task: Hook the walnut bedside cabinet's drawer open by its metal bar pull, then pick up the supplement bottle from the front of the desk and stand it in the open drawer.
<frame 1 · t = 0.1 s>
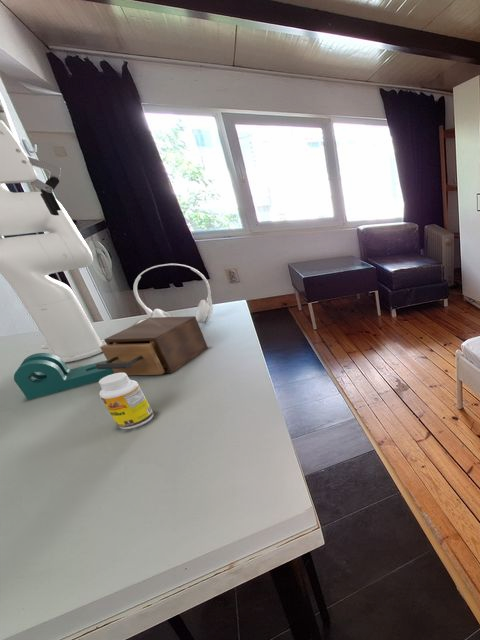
hand: (19, 218, 68), 37 cm above the table, tool pointing down, fingers open, 9 cm apart
supplement bottle: (137, 422, 72), on the table
cabinet: (168, 360, 96), on the table
bracket: (84, 380, 88), on the table
drawer: (144, 353, 89), point 5 cm above the table, slide at 1.0 cm
coaster: (150, 322, 122), on the table
headphones: (189, 327, 117), on the table
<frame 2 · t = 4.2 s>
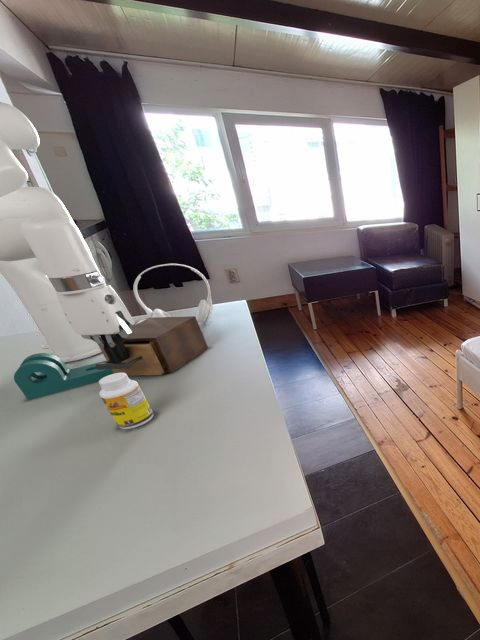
hand: (121, 360, 83), 6 cm above the table, tool pointing down, fingers closed
drawer: (143, 353, 89), point 5 cm above the table, slide at 1.2 cm, touching gripper
everything else where it was.
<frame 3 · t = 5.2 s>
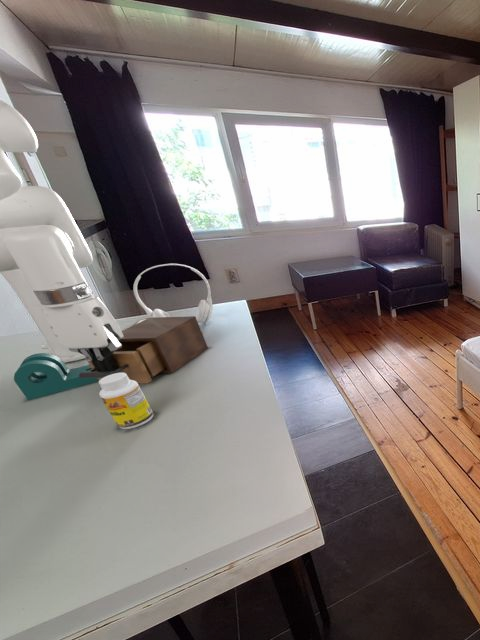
hand: (110, 373, 81), 5 cm above the table, tool pointing down, fingers closed
drawer: (131, 360, 86), point 5 cm above the table, slide at 4.9 cm, touching gripper
everything else where it was.
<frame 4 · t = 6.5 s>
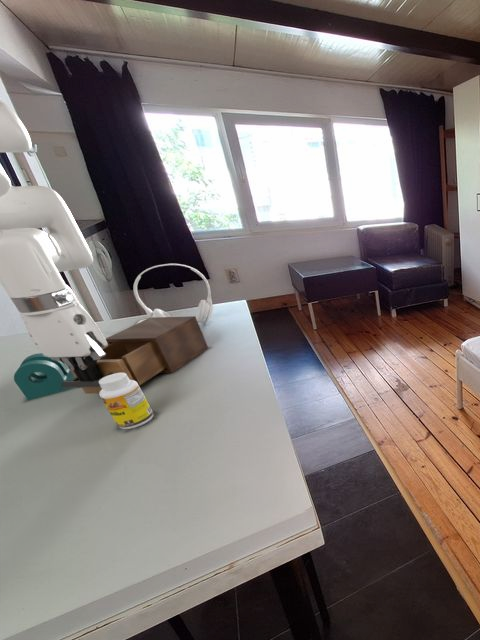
hand: (94, 382, 77), 5 cm above the table, tool pointing down, fingers closed
drawer: (116, 369, 82), point 5 cm above the table, slide at 8.7 cm
everything else where it was.
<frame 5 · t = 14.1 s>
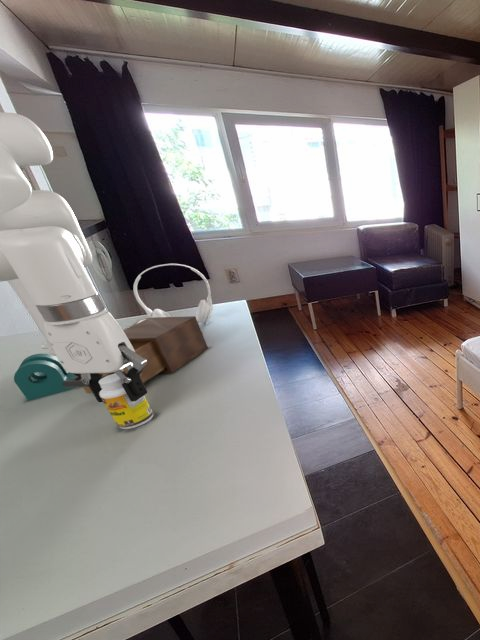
hand: (123, 396, 69), 6 cm above the table, tool pointing down, fingers closed on supplement bottle, 5 cm apart
supplement bottle: (137, 422, 72), on the table, touching gripper
everything else where it was.
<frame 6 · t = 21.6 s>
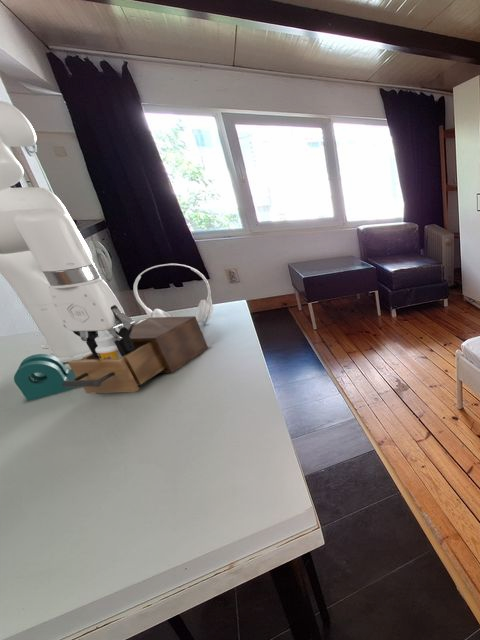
hand: (115, 353, 82), 8 cm above the table, tool pointing down, fingers closed on supplement bottle, 5 cm apart
supplement bottle: (128, 376, 85), point 2 cm above the table, touching gripper
drawer: (117, 368, 82), point 5 cm above the table, slide at 8.5 cm, touching gripper
everything else where it was.
when the fingers open (9 cm above the table, at t = 23.6 s): supplement bottle stays where it is, resting on drawer.
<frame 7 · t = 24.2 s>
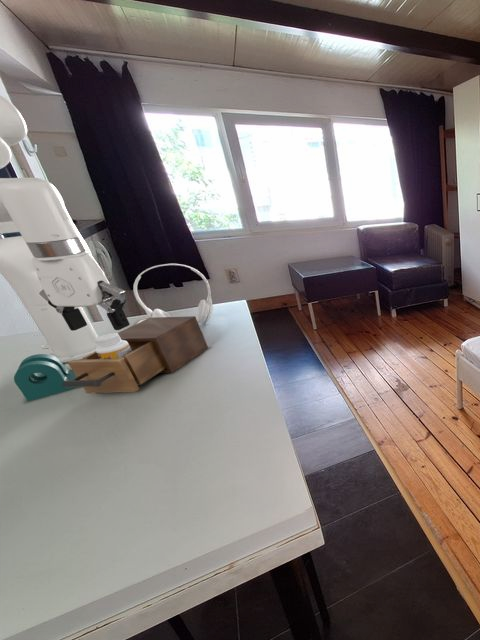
hand: (101, 327, 80), 14 cm above the table, tool pointing down, fingers open, 9 cm apart
supplement bottle: (128, 376, 85), point 2 cm above the table, touching drawer
drawer: (117, 368, 82), point 5 cm above the table, slide at 8.5 cm, touching supplement bottle
everything else where it was.
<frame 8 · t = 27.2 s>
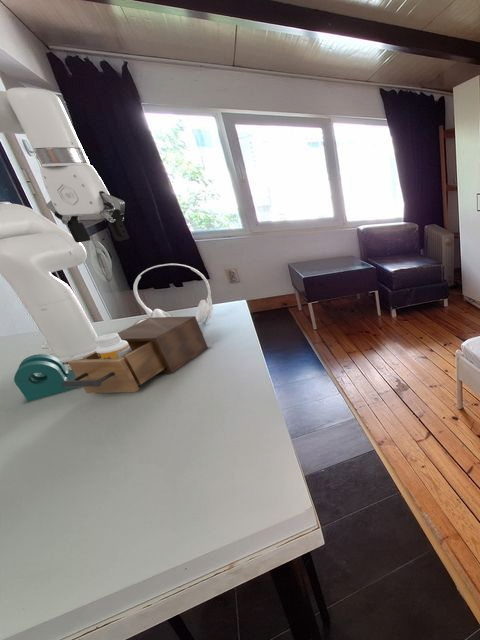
hand: (103, 240, 86), 30 cm above the table, tool pointing down, fingers open, 9 cm apart
nothing on the table moved.
at the end: drawer slide at 8.5 cm; supplement bottle inside the target area in the drawer (0.2 cm from its centre), point 1.8 cm above the cabinet's base; supplement bottle tilted 0° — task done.
